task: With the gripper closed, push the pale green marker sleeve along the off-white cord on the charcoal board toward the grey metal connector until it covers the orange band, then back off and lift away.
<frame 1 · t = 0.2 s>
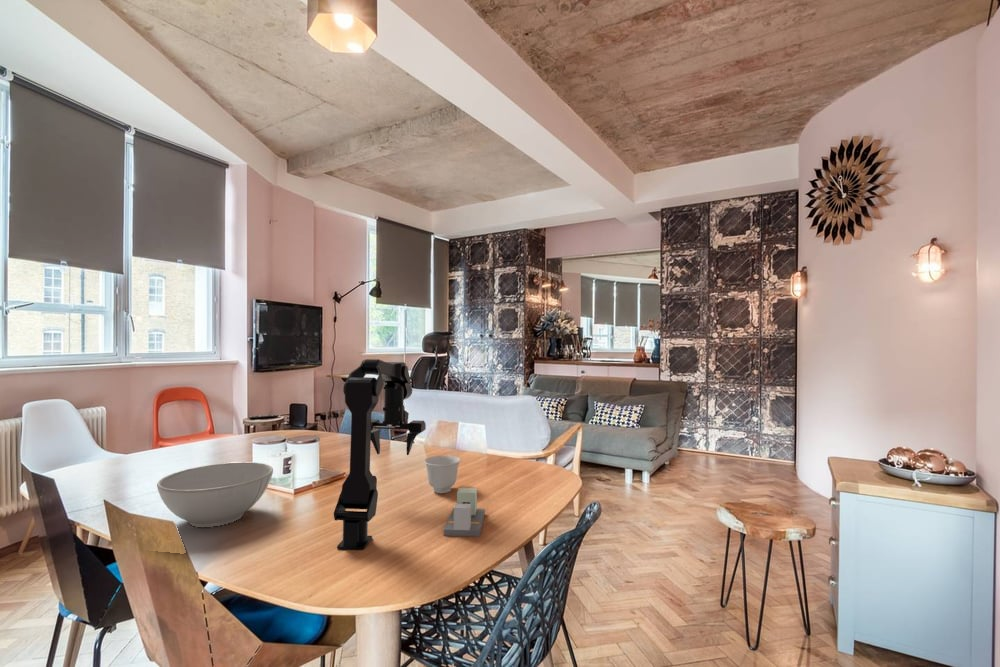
hand: (393, 454, 136), 15 cm above the table, fingers open, 9 cm apart
decorative bowl: (217, 519, 122), on the table
marker sleeve: (467, 501, 123), point 5 cm above the table, slide at 0.0 cm
teacup: (443, 489, 149), on the table
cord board: (465, 524, 120), on the table
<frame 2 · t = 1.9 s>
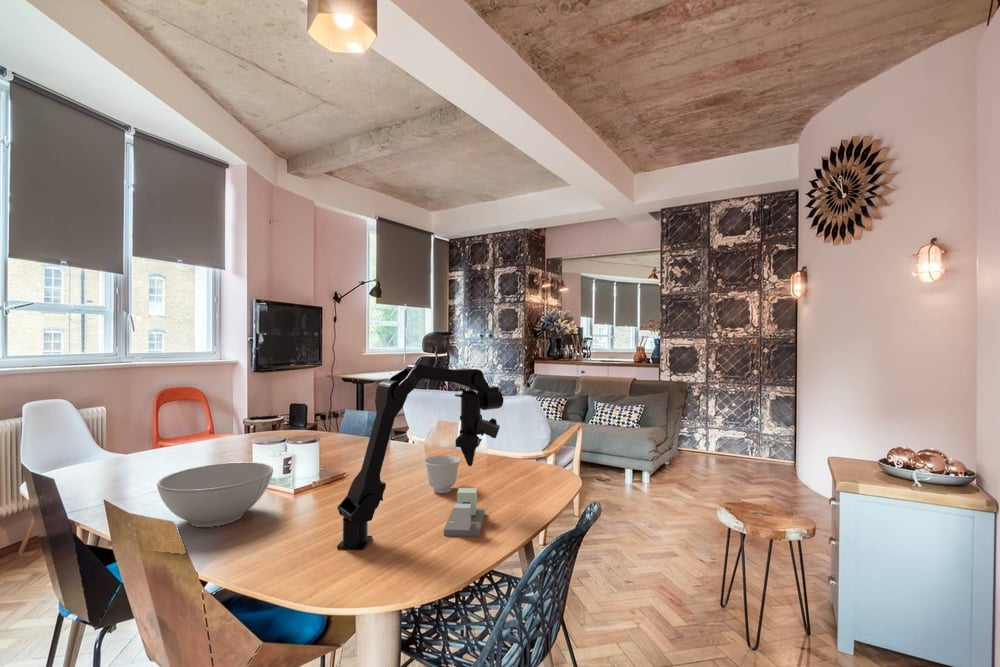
hand: (470, 465, 130), 13 cm above the table, fingers closed
nothing on the table moved.
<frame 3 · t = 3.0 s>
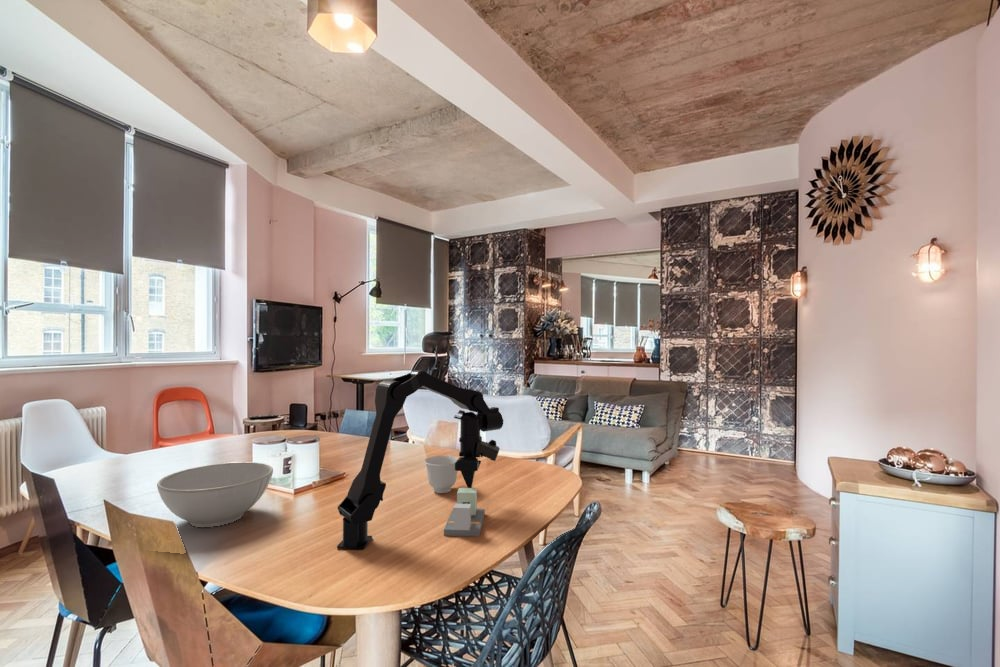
hand: (469, 487, 129), 7 cm above the table, fingers closed
nothing on the table moved.
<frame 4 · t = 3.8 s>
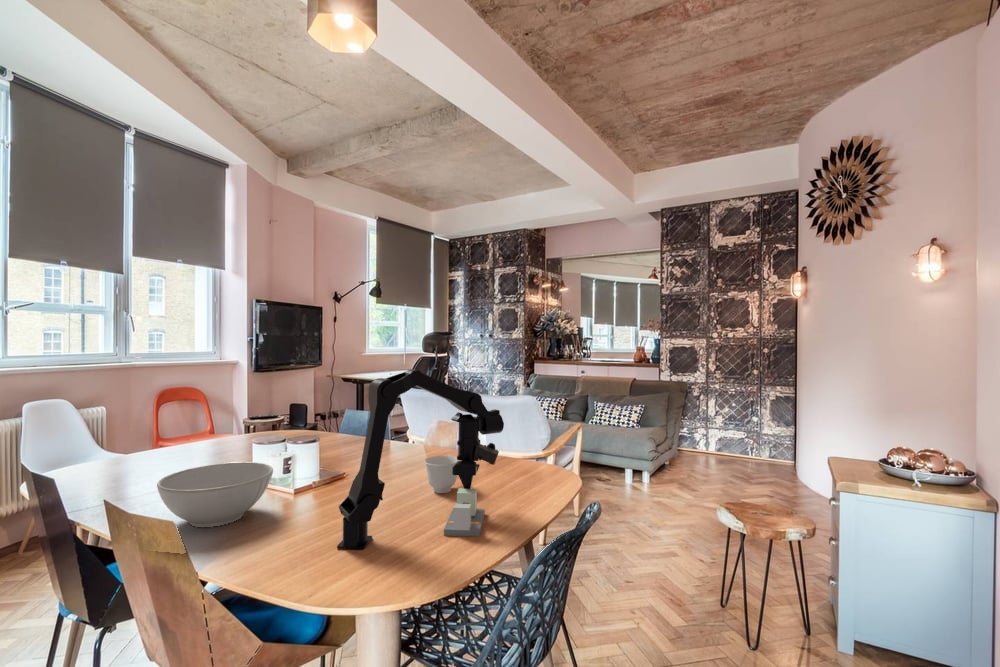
hand: (467, 492, 125), 7 cm above the table, fingers closed
marker sleeve: (466, 501, 122), point 5 cm above the table, slide at -0.4 cm, touching gripper
everything else where it was.
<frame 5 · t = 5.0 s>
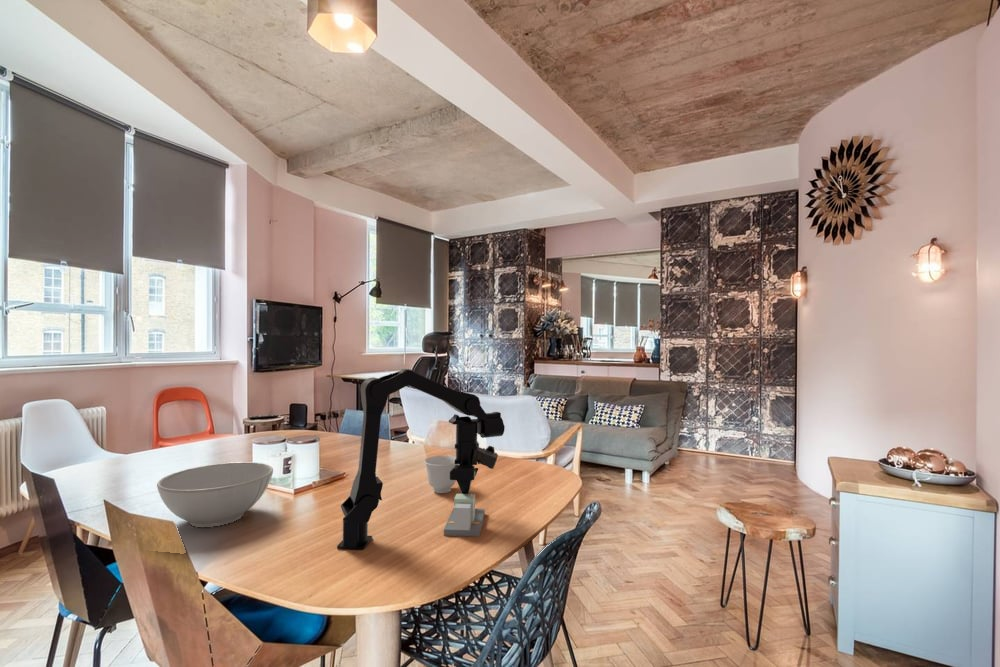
hand: (466, 497, 121), 7 cm above the table, fingers closed
marker sleeve: (464, 507, 118), point 5 cm above the table, slide at -4.9 cm, touching gripper
everything else where it was.
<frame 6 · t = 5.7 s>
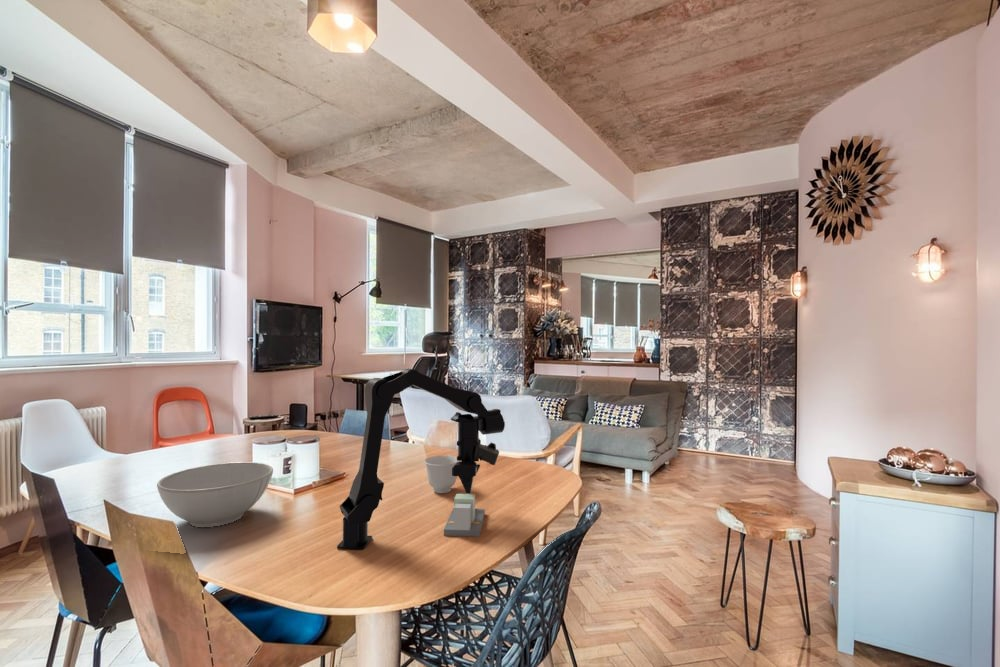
hand: (468, 493, 124), 7 cm above the table, fingers closed
marker sleeve: (464, 507, 118), point 5 cm above the table, slide at -4.9 cm
everything else where it was.
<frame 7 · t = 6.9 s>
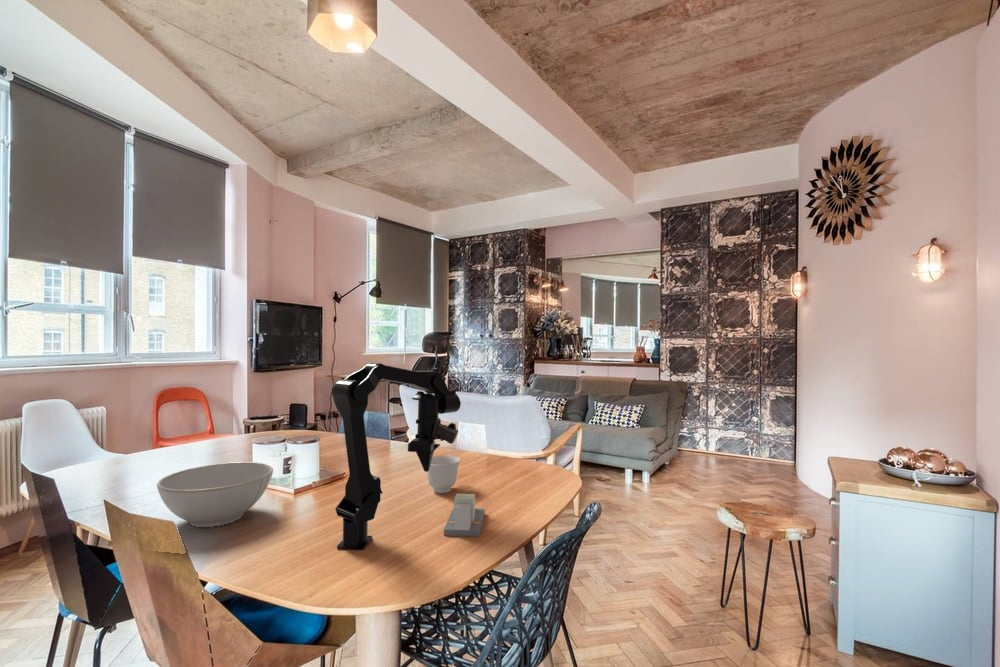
hand: (426, 471, 125), 12 cm above the table, fingers closed
nothing on the table moved.
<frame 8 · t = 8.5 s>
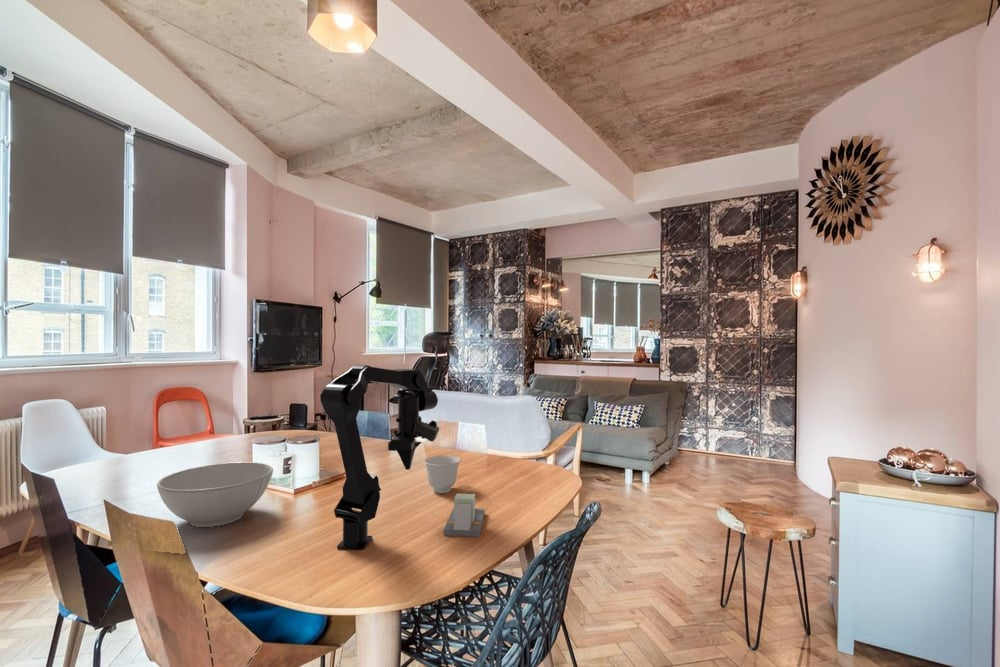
hand: (407, 469, 125), 13 cm above the table, fingers closed
nothing on the table moved.
at the end: marker sleeve slide at -4.9 cm; teacup moved 0.2 cm from its start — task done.
